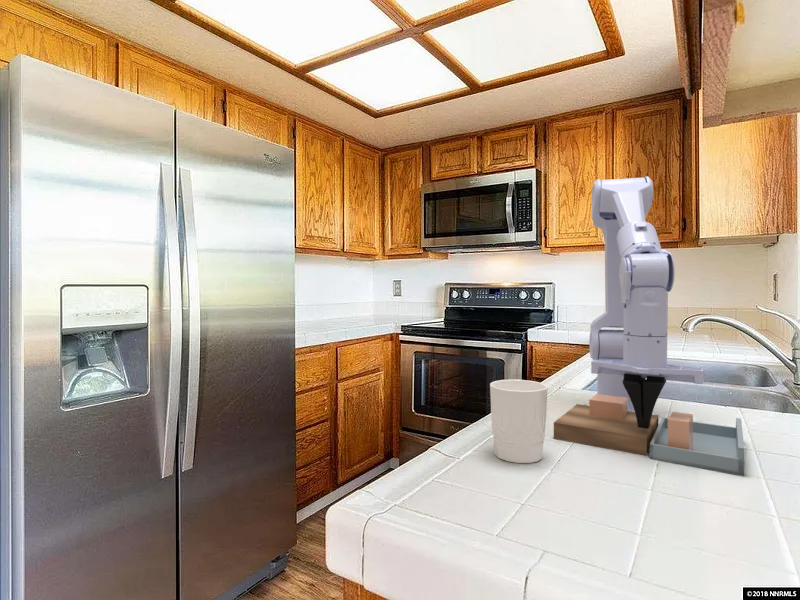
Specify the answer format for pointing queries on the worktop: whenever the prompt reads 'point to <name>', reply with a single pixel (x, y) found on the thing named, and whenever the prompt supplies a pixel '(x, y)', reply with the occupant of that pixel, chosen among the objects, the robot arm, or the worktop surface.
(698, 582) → the worktop surface
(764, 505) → the worktop surface
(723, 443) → the tray
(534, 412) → the white cup
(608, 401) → the tile far
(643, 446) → the board
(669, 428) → the tile near
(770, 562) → the worktop surface
